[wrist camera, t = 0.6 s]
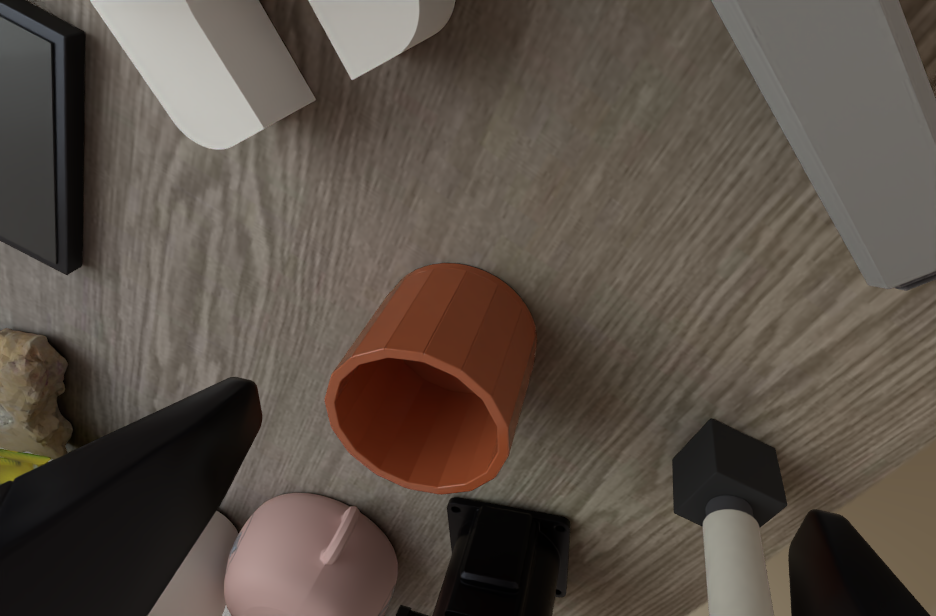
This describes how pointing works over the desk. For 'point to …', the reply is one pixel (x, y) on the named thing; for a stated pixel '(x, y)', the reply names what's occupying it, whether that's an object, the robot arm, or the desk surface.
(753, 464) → the plain black cube
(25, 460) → the fish
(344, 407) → the pen cup
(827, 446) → the desk surface
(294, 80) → the u-slot mount
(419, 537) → the desk surface
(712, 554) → the plain white cylinder
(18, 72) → the tablet
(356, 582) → the mug
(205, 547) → the mug
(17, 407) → the stone
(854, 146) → the grey aluminium rail
